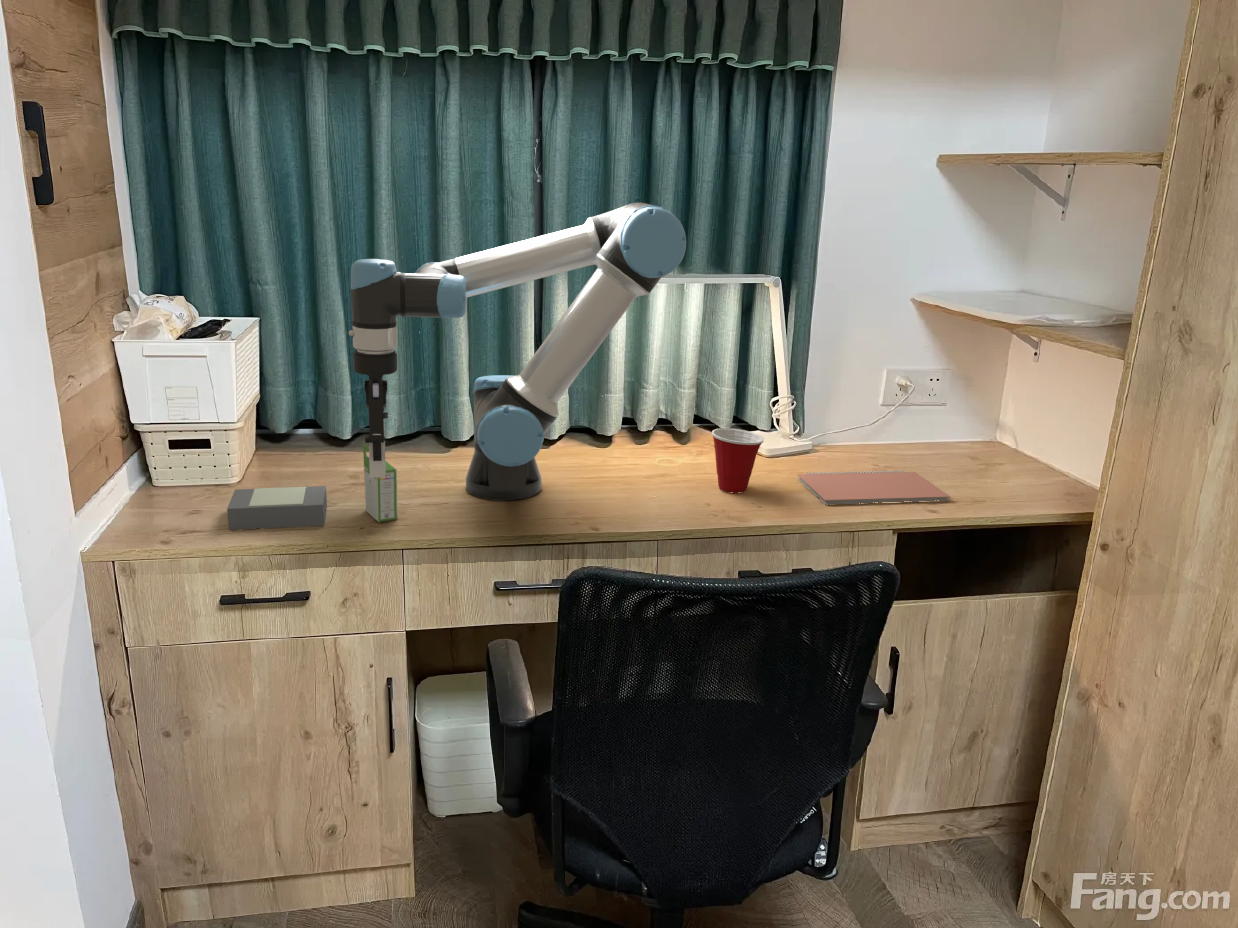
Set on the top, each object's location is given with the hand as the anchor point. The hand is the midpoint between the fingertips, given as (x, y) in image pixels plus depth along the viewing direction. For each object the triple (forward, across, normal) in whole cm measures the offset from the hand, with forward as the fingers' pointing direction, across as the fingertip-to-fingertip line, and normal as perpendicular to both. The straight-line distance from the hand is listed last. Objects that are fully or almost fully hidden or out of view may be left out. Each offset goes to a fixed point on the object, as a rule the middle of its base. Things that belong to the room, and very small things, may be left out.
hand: (377, 464), depth 177 cm
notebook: (+9, -2, +100) cm, 101 cm away
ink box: (+10, 0, 0) cm, 10 cm away
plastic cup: (+9, -6, +72) cm, 72 cm away
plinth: (+10, -1, -18) cm, 20 cm away
